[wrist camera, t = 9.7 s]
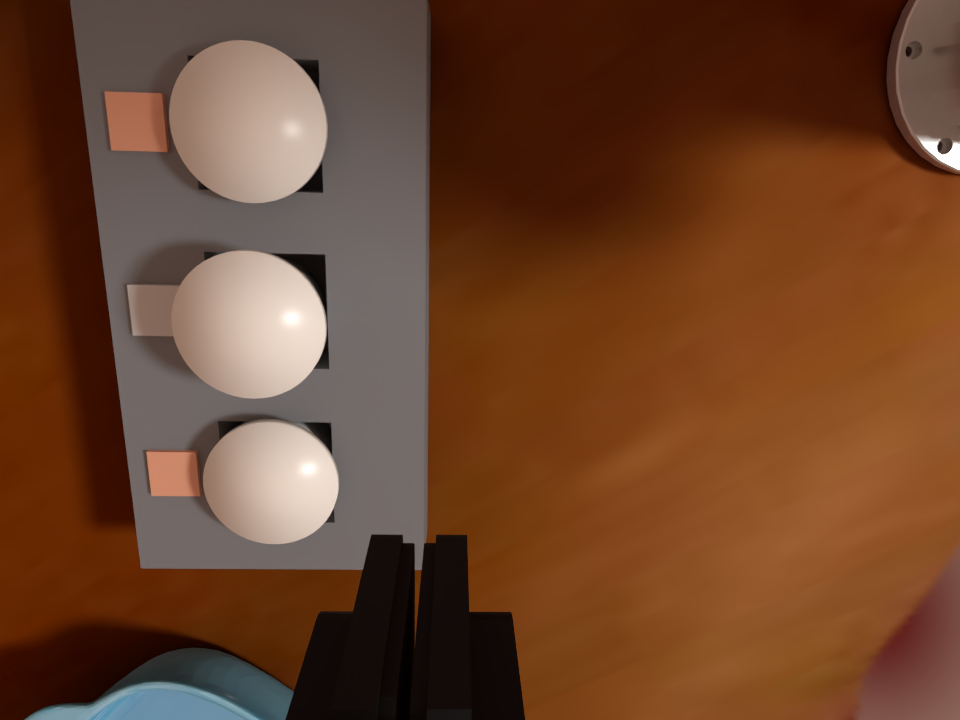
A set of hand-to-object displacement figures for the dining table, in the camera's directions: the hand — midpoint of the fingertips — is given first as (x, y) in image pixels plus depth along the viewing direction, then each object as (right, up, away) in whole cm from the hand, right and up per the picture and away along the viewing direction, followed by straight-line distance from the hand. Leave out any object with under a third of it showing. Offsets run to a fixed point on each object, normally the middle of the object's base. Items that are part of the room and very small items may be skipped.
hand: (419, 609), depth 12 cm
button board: (-10, +8, +28) cm, 30 cm away
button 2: (-10, -1, +29) cm, 31 cm away
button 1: (-10, +16, +24) cm, 31 cm away
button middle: (-10, +7, +25) cm, 28 cm away
